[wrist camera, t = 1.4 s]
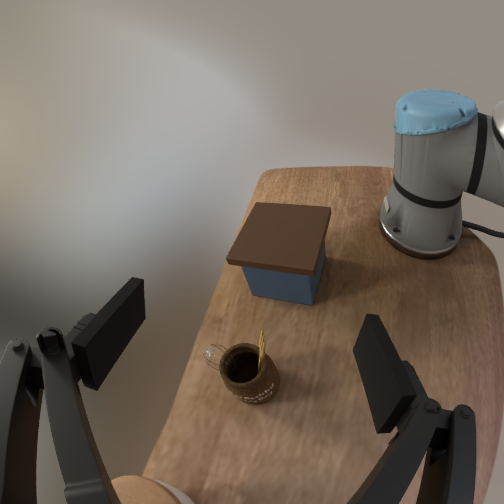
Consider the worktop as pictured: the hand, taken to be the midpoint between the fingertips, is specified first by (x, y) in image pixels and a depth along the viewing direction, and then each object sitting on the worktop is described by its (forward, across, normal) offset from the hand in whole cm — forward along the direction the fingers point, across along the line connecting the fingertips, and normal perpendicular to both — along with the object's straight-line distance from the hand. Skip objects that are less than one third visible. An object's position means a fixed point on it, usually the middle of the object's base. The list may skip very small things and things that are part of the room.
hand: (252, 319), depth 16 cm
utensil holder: (+12, +2, -18) cm, 21 cm away
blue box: (+26, +5, -9) cm, 28 cm away
